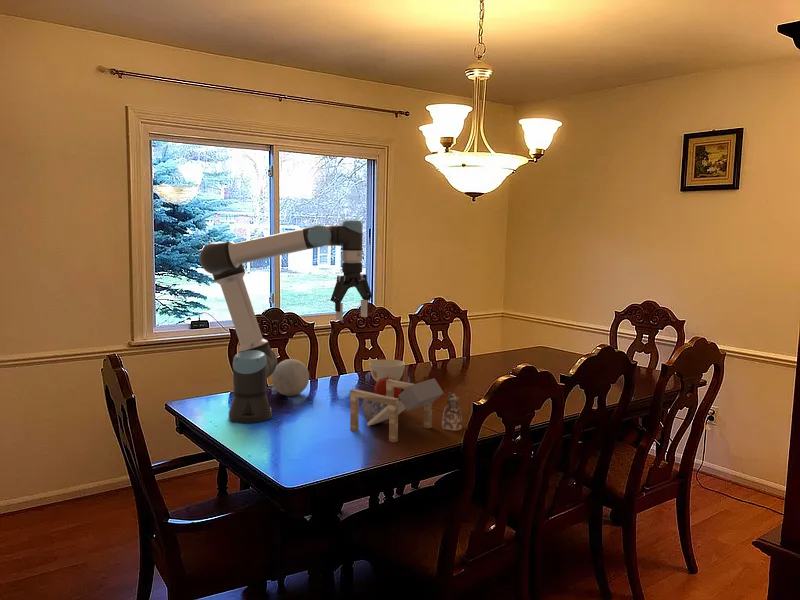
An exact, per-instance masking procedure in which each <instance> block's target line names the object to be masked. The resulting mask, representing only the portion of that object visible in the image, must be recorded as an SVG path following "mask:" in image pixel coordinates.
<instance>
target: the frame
mask: <svg viewBox="0 0 800 600" xmlns="http://www.w3.org/2000/svg"><path fill="white" fill-rule="evenodd" d="M414 384H415V383H411V382H407V381H406V382H405V381H401V380H399V381H397V380H392V379H388V380H386V396H384V395H379V394H375V392H370V391H365V390H361V389H356V388H353V389H350V395H349V396H350V397H349V398H350V408H349V409H350V411H349V413H350V414H349V415H350V418H349V421H350V426H349V428H350V431H352V432H356V431H359V429H360V428H359V427H360V425H359V423H360V422H359V421H360V420H359V419H360V413H359V412H360V408H359V407H360V399H363V400H364V399H366V400H370V401H375V402H379V403H383V404H388V405H389V419H388V441H389V442H390V443H396V442H398V441H399V440H398V439H399V438H398V437H399V434H398V433H399V432H398V431H399V415H398V399H397V398H394V387H396V388H401V390H405V389H406V388H407V387H408V386H410V385H414ZM432 421H433V402H432V403H429V404H427V405H424V406H423V428H425V429H430V428H432V425H433V424H432V423H433V422H432Z"/></svg>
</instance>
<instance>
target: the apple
mask: <svg viewBox="0 0 800 600" xmlns="http://www.w3.org/2000/svg"><path fill="white" fill-rule="evenodd" d="M388 379H392V380H396V379H393V378H389V377H388V375H387V377H384V378H381V379H379V380H378V381H377V382H376V381H375V382H376V383H375V384H374V389H373V390H374V391H373V393H375V394H379V395H384V396H386V380H388ZM400 393H402V389H401V388H396V387H394V398H399V396H398V395H399V394H400Z"/></svg>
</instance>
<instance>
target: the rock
mask: <svg viewBox="0 0 800 600" xmlns="http://www.w3.org/2000/svg"><path fill="white" fill-rule="evenodd" d="M387 405H388V404H383V403H379V402H375V401H370V400H366V399H363V400H362V403H361V409H362V410H363V415H364V417H365V420H366V423H368V422H369V421H370V420H371V419H372V418H374V417H375V416H376V415H377V414H378V413H379V412H381V411H382V410H383V409H384V408H385V407H386V406H387ZM385 421H386V420H384V421H381V422H378V423H375V424H372V425H371V426H375V425H377V424H383V423H384V422H385Z"/></svg>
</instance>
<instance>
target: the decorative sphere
mask: <svg viewBox="0 0 800 600" xmlns="http://www.w3.org/2000/svg"><path fill="white" fill-rule="evenodd" d="M271 380H272V381H271V382H272V385H273V387H274V388H275V390H276V391H277V392H278V393H280V394H281V395H283V396H285V397H286V396H287V397H294V396H297V395H299V394H301V393H302V392H304V391H305V390H306V389H307V387H308V384H309V381H310V371H309V370H308V367H307V366H306V364H304V363H303V362H302V361H301V360H298V359H294V358H288V359H287V358H286V359H283V360H282V361H280V362H279V363H277V366H276V369H275V371H274V372H273V374H272V375H271Z"/></svg>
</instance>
